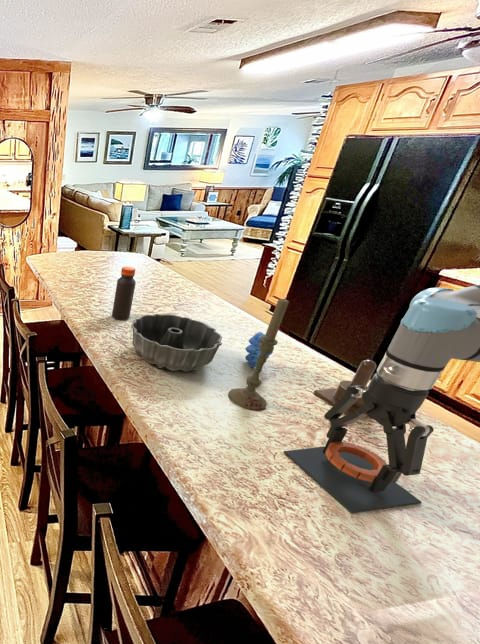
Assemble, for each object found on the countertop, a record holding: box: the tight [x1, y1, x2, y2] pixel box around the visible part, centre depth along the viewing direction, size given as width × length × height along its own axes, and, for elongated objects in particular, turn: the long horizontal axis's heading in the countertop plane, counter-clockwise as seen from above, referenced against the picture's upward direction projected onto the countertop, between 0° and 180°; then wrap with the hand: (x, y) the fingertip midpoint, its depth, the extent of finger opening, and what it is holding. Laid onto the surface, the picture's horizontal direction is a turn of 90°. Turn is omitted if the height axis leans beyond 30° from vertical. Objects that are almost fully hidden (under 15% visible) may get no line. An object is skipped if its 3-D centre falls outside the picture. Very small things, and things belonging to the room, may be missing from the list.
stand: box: [313, 359, 377, 415], centre depth 102 cm, size 11×11×14 cm
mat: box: [283, 446, 422, 514], centre depth 81 cm, size 16×16×1 cm
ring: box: [325, 441, 388, 482], centre depth 79 cm, size 10×10×2 cm
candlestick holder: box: [227, 297, 290, 411], centre depth 98 cm, size 9×9×30 cm
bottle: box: [111, 266, 136, 321], centre depth 149 cm, size 7×7×20 cm
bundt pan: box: [130, 313, 223, 373], centre depth 123 cm, size 26×26×10 cm
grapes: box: [244, 331, 274, 369], centre depth 118 cm, size 12×7×12 cm, turn 166°
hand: (351, 470), depth 81 cm, fingers closed on ring, 10 cm apart
